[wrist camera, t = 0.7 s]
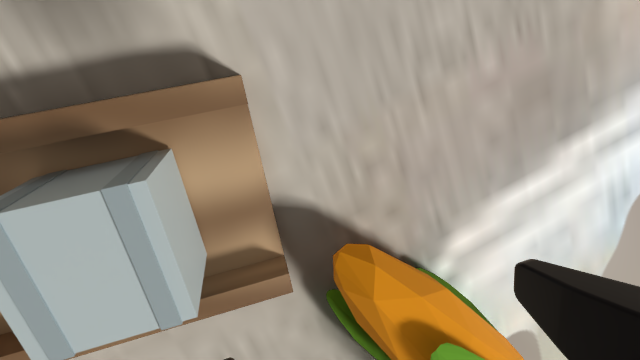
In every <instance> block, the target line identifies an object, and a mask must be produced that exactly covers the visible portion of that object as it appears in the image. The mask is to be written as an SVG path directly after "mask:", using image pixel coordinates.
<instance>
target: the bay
mask: <svg viewBox="0 0 640 360" xmlns="http://www.w3.org/2000/svg"><path fill="white" fill-rule="evenodd" d="M170 148H171V149H172V152H173V154H174V157H175V160H176V163H177V166H178V169H179V172H180V175H181V178H182V181H183V184H184V187H185V190H186V193H187V196H188V199H189V202H190V205H191V208H192V211H193V214H194V217H195V220H196V223H197V226H198V229H199V232H200V235H201V238H202V241H203V244H204V247H205V250H206V253H207V257H206V264H205V270H204V277H203V284H202V290H201V297H200V304H199V310H198V317H196V318H193V319H189V320H186V321H183V323H182V325H185V324H188V323H191V322H195V321H198V320H201V319H205V318H208V317H211V316H215V315H218V314H221V313H225V312H228V311H231V310H235V309H238V308H241V307H245V306H248V305H251V304H255V303H258V302H261V301H265V300H268V299H271V298H275V297H278V296H281V295H285V294H288V293H291V292H293V288H292V284H291V280H290V276H289V272H288V268H287V264H286V261H285V257H284V253H283V249H282V245H281V241H280V236H279V232H278V228H277V224H276V220H275V216H274V212H273V207H272V203H271V199H270V195H269V191H268V187H267V183H266V179H265V174H264V170H263V166H262V162H261V158H260V154H259V150H258V145H257V141H256V137H255V133H254V129H253V125H252V121H251V116H250V112H249V108H248V102H247V98H246V94H245V90H244V85H243V81H242V77H241V75H235V76H230V77H225V78H219V79H214V80H208V81H203V82H197V83H192V84H186V85H181V86H176V87H170V88H165V89H159V90H154V91H148V92H143V93H138V94H132V95H127V96H121V97H116V98H110V99H105V100H100V101H94V102H89V103H83V104H78V105H72V106H67V107H62V108H56V109H51V110H45V111H40V112H34V113H29V114H24V115H18V116H13V117H7V118H2V119H0V196H1V195H3V194H5V193H6V192H8V191H10V190H12V189H14V188H16V187H18V186H19V185H21V184H23V183H25V182H27V181H29V180H30V179H32V178H34V177H39V176H44V175H46V174H48V173H52V172H57V171H62V170H72V169H77V168H81V167H86V166H91V165H95V164H100V163H105V162H109V161H114V160H119V159H123V158H128V157H133V156H137V155H140V154H142V153H146V152H151V151H156V150H158V151H161V150H166V149H170ZM178 326H181V325H178ZM178 326H175V327H178ZM175 327H171V328H175ZM171 328H168V329H171ZM168 329H165V330H168ZM165 330H161V328H159V329H156V330H152V331H149V332H146V333H142V334H139V335H135V336H132V337H129V338H125V339H122V340H119V341H115V342H112V343H109V344H105V345H102V346H98V347H95V348H92V349H88V350H85V351H82V352H78V353H76V354H75V356H74V357H78V356H81V355H84V354H88V353H91V352H94V351H98V350H101V349H104V348H108V347H111V346H114V345H118V344H121V343H124V342H128V341H131V340H134V339H138V338H141V337H144V336H148V335H151V334H155V333H158V332H161V331H165ZM74 357H71V358H74ZM71 358H68V359H71ZM68 359H64V360H68ZM0 360H31V359H30V358H29V356H28V354H27V353H26V351H25V350H24V348H23V347H22V345H21V343H20V342H19V340H18V339H17V337H16V336H15V334H14V332H13V331H12V329H11V328H10V326H9V325H8V323H7V321H6V320H5V318H4V317H3V315H2V314H1V312H0Z"/></svg>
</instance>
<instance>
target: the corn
mask: <svg viewBox="0 0 640 360" xmlns="http://www.w3.org/2000/svg"><path fill="white" fill-rule="evenodd" d="M333 269H334V281H335V283H336V285H337V287H338V289H339V290H340V291H339V290H336V289H332V290H329V291H328V292H327V294H326V297H327V301H328V303H329V305H330V306H331V308H332V310H333V311H334V313H335V314H336V316H337V317H338V319H339V320H340V322H341V323H342V324H343V325H344V327H345V328H346V329H347V330H348V332H349V333H350V334H351V336H352V337H353V338H354V339H355V340H356V341H357V342H358V343H359V344H360V345H361V346H362V347H363V348H364V349H366V350H367V351H368V352H369V353H370V354H371V355H372V356H373V357H375V358H376V359H377V360H524V359H523V357H522V356H521V355H520V354H519V353H518V352H517V351H516V349H515V348H514V347H513V346H512V345H511V344H510V343H509V342H508V340H507V339H506V338H505V337H504V336H503V335H501V334H500V333H499V332H498V331H497V330H496V329H495V328H494V326H493V325H492V324H491V323H490V322H489V321H488V320H487V319H486V318H485V317H484V316H483V314H482V313H481V312H480V311H479V310H478V309H477V308H476V307H475V306H474V305H473V304H472V303H471V302H470V301H469V300H468V299H467V298H465V297H464V296H463V295H462V294H461V293H459V292H458V291H457V290H456V289H455V288H453V287H452V286H451V285H450V284H449V283H447V282H446V281H444V280H443V279H441V278H440V277H438V276H436V275H435V274H433V273H431V272H429V271H427V270H424V269H422V268H414V267H412V266H410V265H408V264H406V263H404V262H402V261H400V260H398V259H396V258H394V257H392V256H390V255H388V254H386V253H384V252H382V251H380V250H379V249H377V248H375V247H373V246H371V245H369V244H346V245H345V246H343V247H342V248H341V249H340V250H339V251H338V252H336V253H335V254H334V255H333Z"/></svg>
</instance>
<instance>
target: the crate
mask: <svg viewBox="0 0 640 360" xmlns="http://www.w3.org/2000/svg"><path fill="white" fill-rule="evenodd" d="M206 257H207V253H206V250H205V247H204V244H203V241H202V238H201V235H200V232H199V229H198V226H197V223H196V220H195V217H194V214H193V211H192V208H191V205H190V202H189V199H188V196H187V193H186V190H185V187H184V184H183V181H182V178H181V175H180V172H179V169H178V166H177V163H176V160H175V157H174V154H173V152H172V149H171V148H170V149H166V150H161V151H158V150H156V151H151V152H146V153H142V154H140V155H137V156H133V157H128V158H123V159H119V160H114V161H109V162H105V163H100V164H95V165H91V166H86V167H81V168H77V169H72V170H62V171H57V172H52V173H48V174H46V175H44V176H39V177H34V178H32V179H30V180H29V181H27V182H25V183H23V184H21V185H19V186H18V187H16V188H14V189H12V190H10V191H8V192H6V193H5V194H3V195H1V196H0V312H1V314H2V315H3V317H4V318H5V320H6V321H7V323H8V325H9V326H10V328H11V329H12V331H13V332H14V334H15V336H16V337H17V339H18V340H19V342H20V343H21V345H22V347H23V348H24V350H25V351H26V353H27V354H28V356H29V358H30V359H31V360H64V359H68V358H71V357H74V356H75V354H76V353H78V352H82V351H85V350H88V349H92V348H95V347H98V346H102V345H105V344H109V343H112V342H115V341H119V340H122V339H125V338H129V337H132V336H135V335H139V334H142V333H146V332H149V331H152V330H156V329H159V328H161V330H165V329H168V328H171V327H175V326H178V325H182V323H183V321H186V320H189V319H193V318H196V317H198V310H199V304H200V297H201V290H202V284H203V277H204V270H205V264H206Z"/></svg>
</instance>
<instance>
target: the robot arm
mask: <svg viewBox="0 0 640 360" xmlns="http://www.w3.org/2000/svg"><path fill="white" fill-rule="evenodd" d="M514 293H515V295H516V298H517V299H518V301H519V302H520V303H521V304H522V306H523V307H524V308H525V309H526V310H527V312H528V313H529V314H530V315H531V316H532V318H533V319H534V320H535V321H536V322H537V324H538V325H539V326H540V327H541V328H542V330H543V331H544V332H545V333H546V334H547V336H548V337H549V338H550V339H551V341H552V342H553V343H554V344H555V345H556V347H557V348H558V349H559V350H560V351H561V352H562V353H563V355H564V356H565V357H566V358H567V359H568V360H640V287H639V286H635V285H631V284H627V283H623V282H619V281H616V280H612V279H608V278H604V277H601V276H597V275H593V274H589V273H585V272H581V271H578V270H574V269H570V268H566V267H562V266H558V265H555V264H551V263H547V262H543V261H539V260H535V259H529V260H526V261H523V262H520V263H518V264H516V266H515V273H514ZM224 360H234V359H233V358H227V359H224Z"/></svg>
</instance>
